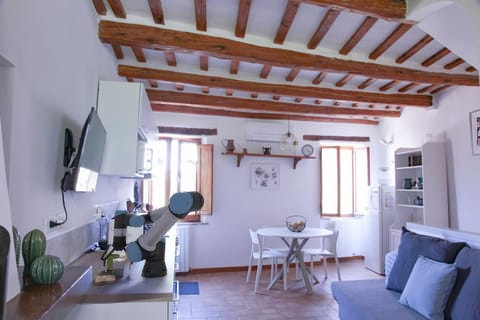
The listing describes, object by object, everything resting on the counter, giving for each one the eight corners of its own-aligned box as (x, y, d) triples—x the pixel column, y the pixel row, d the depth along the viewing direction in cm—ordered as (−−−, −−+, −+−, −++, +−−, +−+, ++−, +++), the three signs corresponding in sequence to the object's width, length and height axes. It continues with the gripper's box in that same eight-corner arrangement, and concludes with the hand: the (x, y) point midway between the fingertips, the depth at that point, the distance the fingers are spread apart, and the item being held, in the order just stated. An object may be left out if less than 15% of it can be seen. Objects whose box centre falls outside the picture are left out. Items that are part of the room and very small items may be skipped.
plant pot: (103, 271, 199) (104, 257, 199) (103, 267, 207) (104, 254, 208) (119, 270, 202) (120, 256, 203) (119, 266, 211) (120, 253, 212)
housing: (122, 272, 198) (123, 257, 198) (123, 276, 191) (124, 260, 192) (112, 273, 195) (113, 258, 196) (112, 277, 189) (113, 261, 189)
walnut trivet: (115, 277, 189) (115, 274, 189) (116, 282, 178) (116, 280, 179) (94, 278, 184) (95, 276, 184) (94, 284, 174) (94, 282, 174)
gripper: (140, 233, 203) (138, 267, 202) (97, 234, 193) (95, 270, 192) (142, 235, 196) (140, 270, 195) (97, 236, 186) (95, 274, 185)
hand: (117, 270), depth 193 cm, fingers open, 13 cm apart
